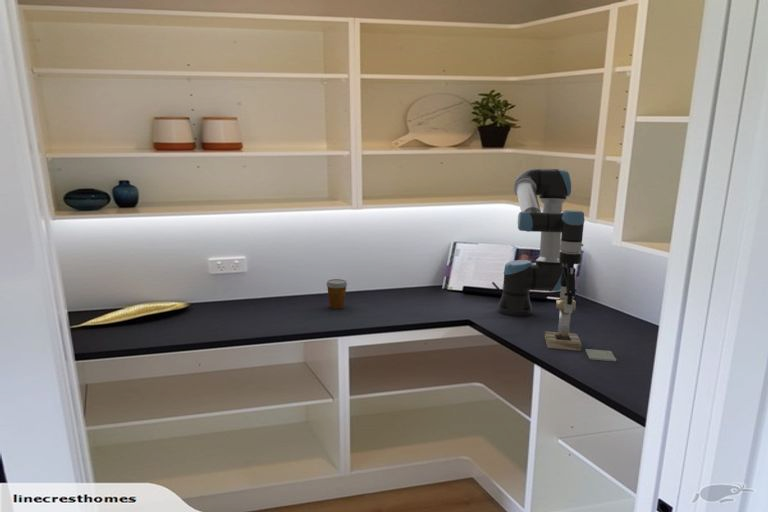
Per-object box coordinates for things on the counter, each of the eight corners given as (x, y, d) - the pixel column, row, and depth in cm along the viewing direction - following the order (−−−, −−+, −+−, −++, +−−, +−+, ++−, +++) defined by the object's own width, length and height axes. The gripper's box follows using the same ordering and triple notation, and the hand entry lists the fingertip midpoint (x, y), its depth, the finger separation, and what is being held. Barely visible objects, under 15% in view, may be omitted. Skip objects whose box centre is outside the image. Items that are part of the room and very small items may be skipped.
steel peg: (551, 340, 218) (555, 297, 215) (570, 341, 217) (574, 299, 214) (553, 346, 212) (557, 302, 208) (573, 347, 210) (577, 304, 207)
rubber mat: (585, 350, 208) (585, 349, 208) (610, 352, 206) (611, 351, 206) (589, 359, 199) (589, 357, 199) (616, 361, 197) (616, 359, 197)
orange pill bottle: (340, 303, 263) (341, 278, 261) (350, 308, 255) (351, 282, 253) (322, 305, 258) (322, 280, 256) (332, 310, 250) (332, 284, 248)
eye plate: (544, 337, 221) (545, 331, 221) (576, 340, 219) (576, 333, 219) (547, 347, 210) (548, 341, 209) (581, 350, 208) (581, 344, 207)
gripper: (586, 258, 195) (581, 317, 199) (575, 247, 219) (571, 300, 223) (564, 257, 196) (559, 316, 200) (555, 246, 220) (551, 298, 224)
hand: (565, 307), depth 211 cm, fingers open, 13 cm apart
